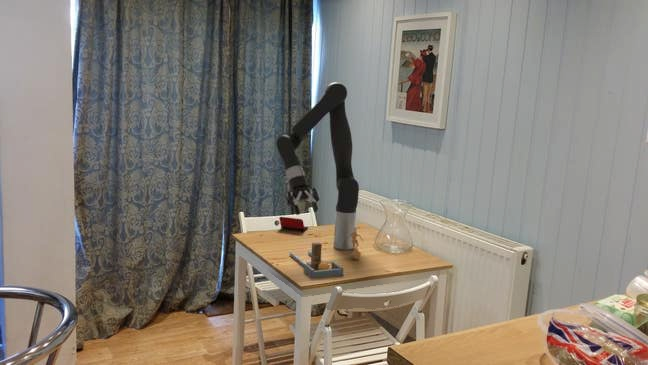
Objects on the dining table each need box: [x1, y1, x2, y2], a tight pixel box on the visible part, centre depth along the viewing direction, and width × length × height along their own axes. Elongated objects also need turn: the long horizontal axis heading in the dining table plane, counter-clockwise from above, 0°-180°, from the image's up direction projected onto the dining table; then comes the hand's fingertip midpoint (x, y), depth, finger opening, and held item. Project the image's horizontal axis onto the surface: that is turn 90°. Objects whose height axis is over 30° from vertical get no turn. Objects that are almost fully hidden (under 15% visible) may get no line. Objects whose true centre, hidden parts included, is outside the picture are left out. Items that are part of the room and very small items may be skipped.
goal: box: [303, 260, 344, 279], centre depth 225 cm, size 13×8×3 cm, turn 114°
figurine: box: [347, 231, 364, 261], centre depth 245 cm, size 8×6×12 cm
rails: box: [289, 250, 330, 268], centre depth 238 cm, size 10×20×2 cm, turn 24°
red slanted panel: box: [278, 216, 309, 233], centre depth 289 cm, size 12×11×7 cm
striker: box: [306, 242, 329, 271], centre depth 230 cm, size 6×8×10 cm
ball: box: [318, 262, 330, 271], centre depth 225 cm, size 4×4×4 cm
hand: (307, 213), depth 242 cm, fingers open, 8 cm apart
